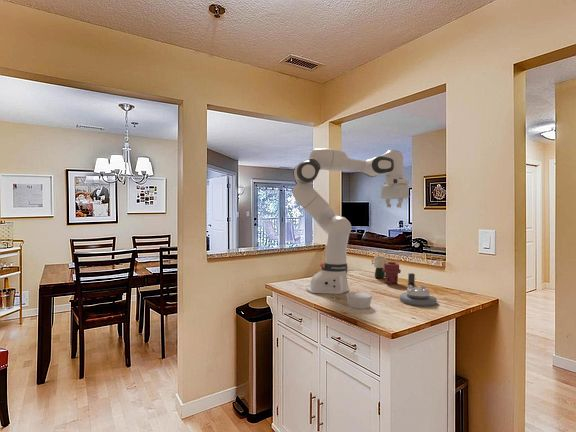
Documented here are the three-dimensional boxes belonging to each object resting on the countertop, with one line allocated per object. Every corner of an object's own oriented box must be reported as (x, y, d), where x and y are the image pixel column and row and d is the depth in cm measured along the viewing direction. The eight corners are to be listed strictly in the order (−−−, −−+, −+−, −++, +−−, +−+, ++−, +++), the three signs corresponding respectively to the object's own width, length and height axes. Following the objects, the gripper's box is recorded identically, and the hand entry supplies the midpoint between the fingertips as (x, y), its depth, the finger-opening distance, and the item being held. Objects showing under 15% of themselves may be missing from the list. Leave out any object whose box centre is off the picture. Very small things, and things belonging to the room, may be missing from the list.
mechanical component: (381, 281, 200) (398, 281, 199) (384, 285, 190) (402, 285, 189) (381, 260, 200) (398, 260, 199) (384, 263, 190) (402, 263, 189)
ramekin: (353, 301, 157) (353, 290, 157) (376, 306, 150) (376, 294, 150) (341, 306, 149) (341, 294, 149) (364, 312, 142) (364, 299, 141)
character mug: (390, 278, 209) (390, 257, 209) (386, 280, 204) (386, 258, 203) (373, 275, 216) (373, 255, 215) (369, 277, 210) (369, 256, 209)
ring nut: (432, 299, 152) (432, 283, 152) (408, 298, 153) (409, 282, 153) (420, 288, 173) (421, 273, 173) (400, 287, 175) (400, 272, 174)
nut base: (409, 306, 149) (409, 301, 149) (394, 297, 165) (394, 292, 165) (443, 306, 151) (443, 301, 151) (425, 296, 167) (425, 292, 166)
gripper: (378, 182, 188) (378, 207, 189) (400, 179, 169) (399, 207, 169) (388, 182, 190) (388, 207, 190) (411, 180, 170) (410, 207, 171)
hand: (393, 207), depth 180 cm, fingers open, 8 cm apart
